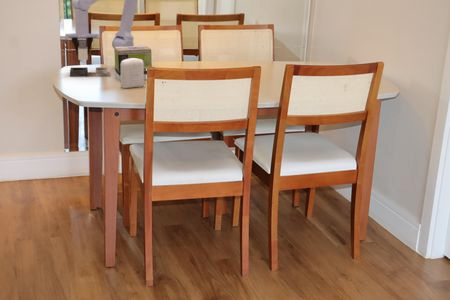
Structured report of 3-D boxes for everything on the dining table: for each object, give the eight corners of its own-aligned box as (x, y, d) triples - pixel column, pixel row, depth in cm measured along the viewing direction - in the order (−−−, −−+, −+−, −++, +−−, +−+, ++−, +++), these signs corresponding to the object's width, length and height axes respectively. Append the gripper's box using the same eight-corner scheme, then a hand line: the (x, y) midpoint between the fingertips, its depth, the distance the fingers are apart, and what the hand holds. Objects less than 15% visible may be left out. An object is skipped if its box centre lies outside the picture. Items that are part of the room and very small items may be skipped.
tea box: (147, 77, 290) (147, 45, 285) (152, 82, 281) (152, 49, 276) (115, 78, 285) (114, 45, 280) (118, 83, 276) (117, 49, 271)
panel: (110, 74, 292) (110, 66, 291) (110, 78, 284) (110, 71, 283) (70, 74, 289) (70, 67, 288) (69, 79, 281) (69, 71, 280)
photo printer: (141, 84, 275) (140, 56, 271) (145, 86, 272) (145, 58, 268) (119, 87, 270) (118, 58, 266) (123, 89, 266) (122, 60, 262)
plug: (87, 58, 286) (87, 40, 283) (87, 59, 282) (87, 42, 279) (78, 58, 285) (78, 40, 282) (78, 59, 281) (77, 42, 279)
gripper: (64, 25, 273) (66, 56, 278) (98, 25, 276) (99, 56, 280) (65, 23, 280) (66, 53, 284) (98, 23, 283) (99, 53, 287)
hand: (83, 54), depth 283 cm, fingers closed on plug, 4 cm apart
